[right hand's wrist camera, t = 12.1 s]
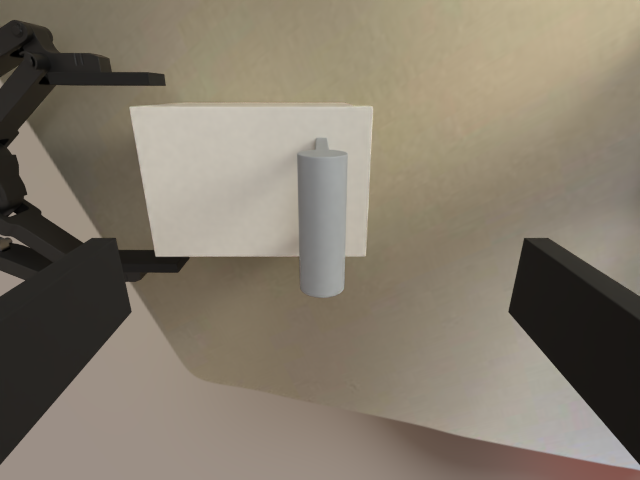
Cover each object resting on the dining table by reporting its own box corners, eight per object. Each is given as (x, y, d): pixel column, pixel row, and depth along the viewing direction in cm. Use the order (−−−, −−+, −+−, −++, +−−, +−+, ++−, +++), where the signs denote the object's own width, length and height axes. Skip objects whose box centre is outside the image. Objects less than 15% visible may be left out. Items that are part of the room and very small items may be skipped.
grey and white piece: (370, 105, 23) (402, 113, 14) (363, 249, 27) (386, 327, 18) (138, 105, 23) (25, 113, 14) (162, 249, 27) (84, 328, 18)
